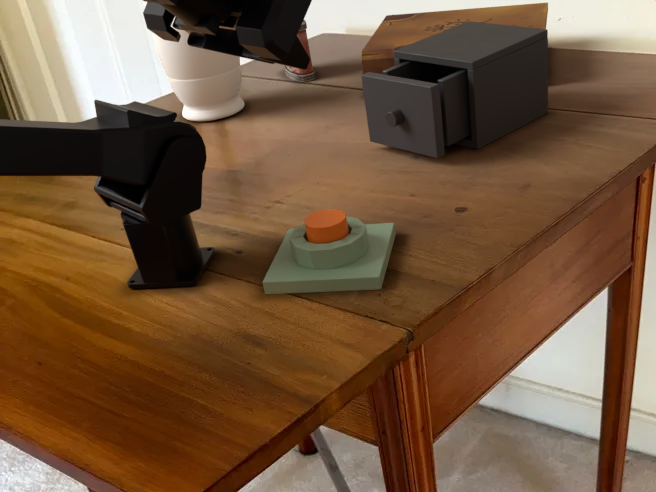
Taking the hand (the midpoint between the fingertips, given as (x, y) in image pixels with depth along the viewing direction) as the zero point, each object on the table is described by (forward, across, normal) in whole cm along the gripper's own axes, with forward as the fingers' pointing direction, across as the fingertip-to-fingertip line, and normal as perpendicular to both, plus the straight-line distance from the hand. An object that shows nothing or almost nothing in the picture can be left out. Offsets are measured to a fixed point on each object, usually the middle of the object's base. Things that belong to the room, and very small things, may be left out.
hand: (291, 61), depth 75 cm
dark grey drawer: (+22, 0, -4) cm, 22 cm away
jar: (+18, +36, +1) cm, 40 cm away
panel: (+4, -12, +15) cm, 20 cm away
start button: (+2, -12, +14) cm, 18 cm away
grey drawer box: (+27, 0, -8) cm, 28 cm away
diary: (+38, +15, -18) cm, 44 cm away
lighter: (+30, +37, -10) cm, 49 cm away
